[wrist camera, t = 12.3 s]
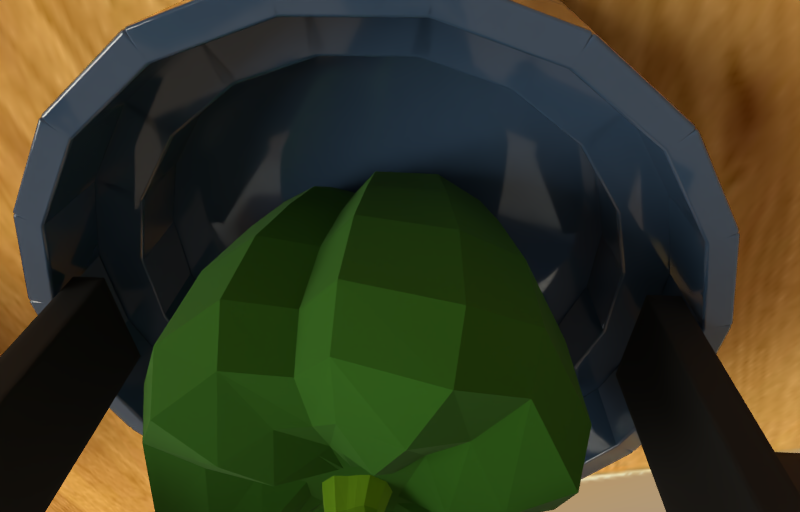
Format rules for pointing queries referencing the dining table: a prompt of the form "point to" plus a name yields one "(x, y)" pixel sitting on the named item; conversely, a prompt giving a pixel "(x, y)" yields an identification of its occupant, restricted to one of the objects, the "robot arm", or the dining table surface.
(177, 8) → the bowl
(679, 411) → the robot arm
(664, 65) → the dining table surface
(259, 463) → the bell pepper
